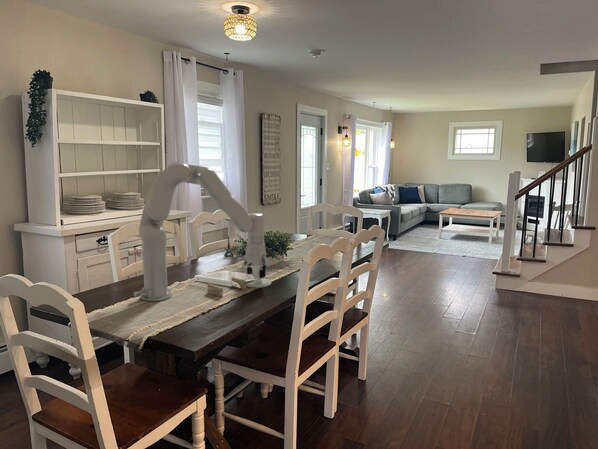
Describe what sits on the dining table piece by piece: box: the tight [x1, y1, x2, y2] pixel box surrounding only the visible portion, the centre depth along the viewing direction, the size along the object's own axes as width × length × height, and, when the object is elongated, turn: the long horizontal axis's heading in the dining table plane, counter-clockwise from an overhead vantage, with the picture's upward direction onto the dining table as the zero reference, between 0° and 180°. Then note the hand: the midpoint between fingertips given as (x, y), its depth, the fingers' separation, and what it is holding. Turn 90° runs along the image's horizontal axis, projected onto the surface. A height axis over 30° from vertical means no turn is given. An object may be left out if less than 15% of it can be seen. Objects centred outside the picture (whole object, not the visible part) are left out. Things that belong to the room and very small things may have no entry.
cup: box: [244, 264, 264, 282], centre depth 215 cm, size 7×10×8 cm
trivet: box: [246, 277, 272, 289], centre depth 216 cm, size 14×14×1 cm
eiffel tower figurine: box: [223, 235, 239, 261], centre depth 266 cm, size 15×10×13 cm
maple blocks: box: [207, 276, 247, 298], centre depth 204 cm, size 15×9×4 cm, turn 138°
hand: (256, 275), depth 216 cm, fingers closed on cup, 8 cm apart
